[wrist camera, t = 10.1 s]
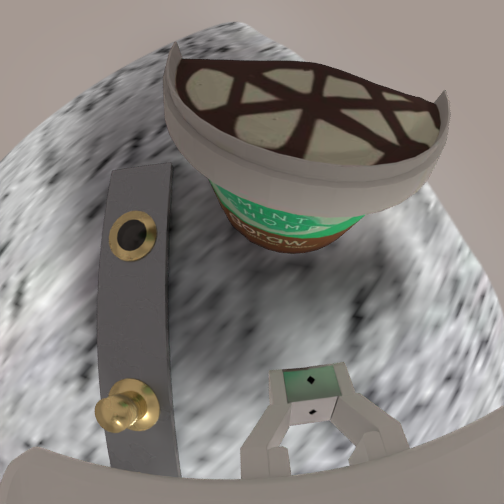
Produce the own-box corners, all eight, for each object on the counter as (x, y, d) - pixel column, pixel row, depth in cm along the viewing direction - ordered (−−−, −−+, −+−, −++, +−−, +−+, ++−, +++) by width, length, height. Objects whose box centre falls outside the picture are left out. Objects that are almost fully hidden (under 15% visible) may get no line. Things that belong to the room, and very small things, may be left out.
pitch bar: (116, 469, 13) (90, 490, 9) (115, 174, 19) (94, 146, 15) (181, 478, 13) (166, 506, 10) (173, 167, 19) (159, 134, 15)
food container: (173, 254, 17) (93, 159, 7) (197, 166, 19) (162, 42, 9) (377, 287, 16) (490, 227, 7) (380, 197, 18) (455, 94, 9)
